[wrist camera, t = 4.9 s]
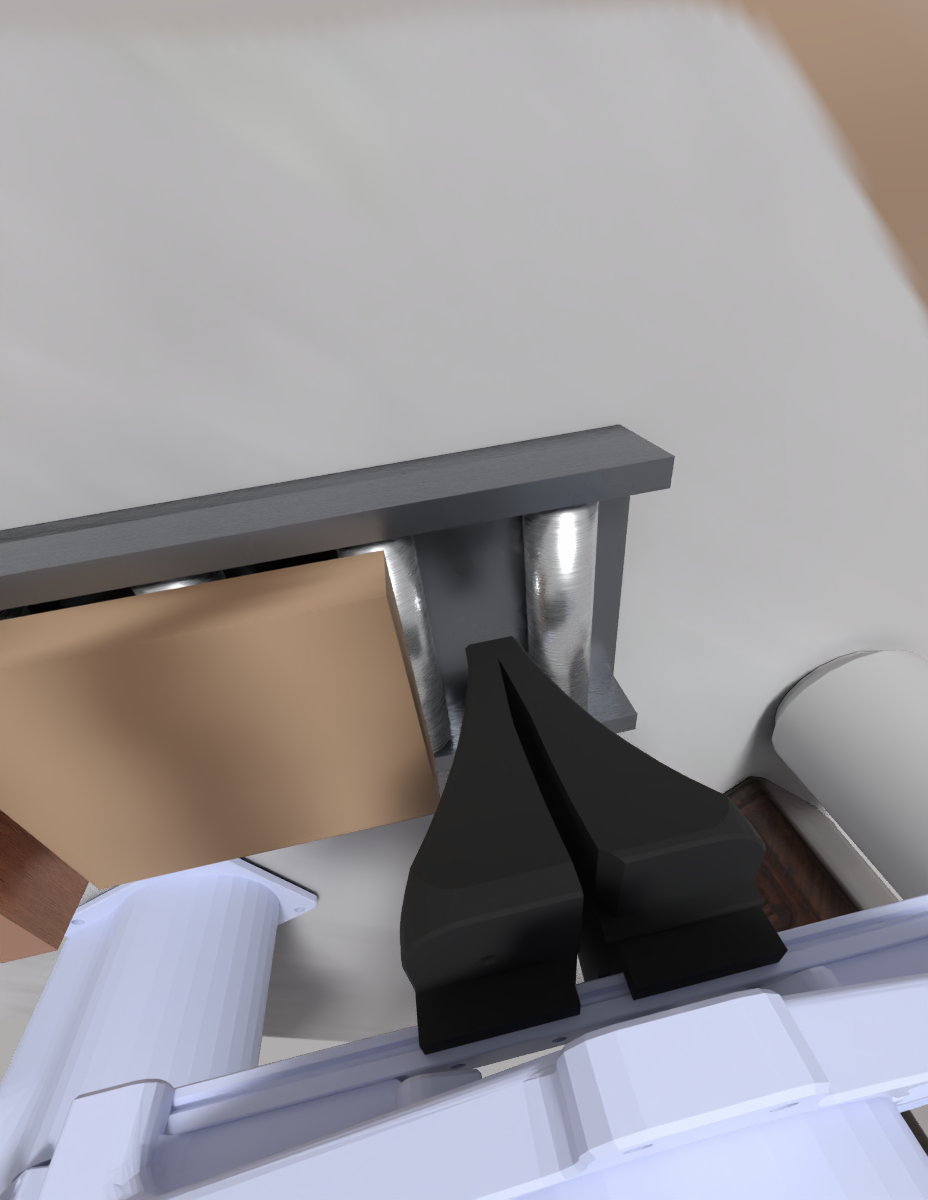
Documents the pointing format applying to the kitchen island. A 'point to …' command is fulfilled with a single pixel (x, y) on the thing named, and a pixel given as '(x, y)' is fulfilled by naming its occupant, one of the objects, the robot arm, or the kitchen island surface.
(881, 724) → the can
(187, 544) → the roller bed
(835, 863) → the manual coffee grinder
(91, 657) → the tan flat block
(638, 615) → the kitchen island surface
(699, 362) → the kitchen island surface
